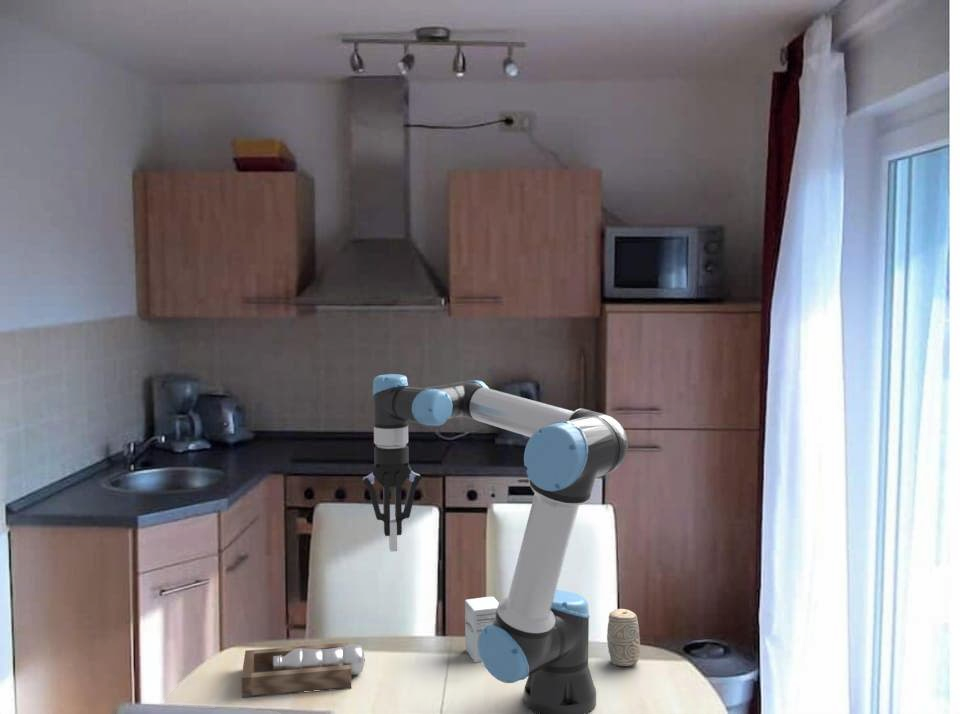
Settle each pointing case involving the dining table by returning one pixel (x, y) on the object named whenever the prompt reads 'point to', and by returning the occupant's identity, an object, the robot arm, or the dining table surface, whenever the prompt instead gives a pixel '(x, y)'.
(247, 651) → the wooden tray
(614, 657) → the carving
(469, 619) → the supplement box
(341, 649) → the plastic bottle
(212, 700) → the dining table surface
